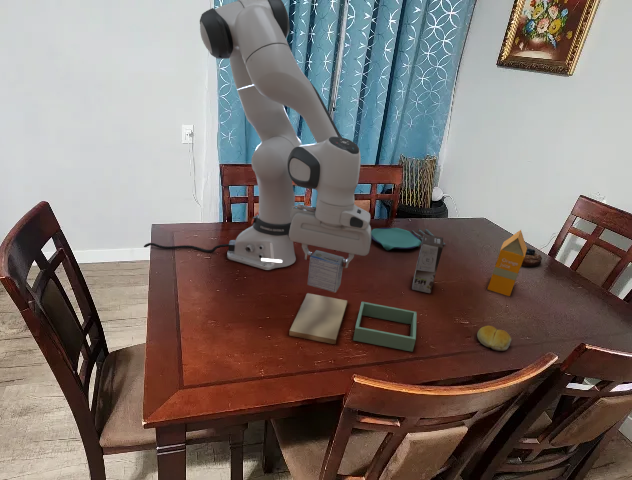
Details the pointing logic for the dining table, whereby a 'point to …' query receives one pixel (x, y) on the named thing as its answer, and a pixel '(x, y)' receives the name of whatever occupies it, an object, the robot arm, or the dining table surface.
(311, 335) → the board
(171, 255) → the dining table surface
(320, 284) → the medicine box
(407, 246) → the teal flat piece
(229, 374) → the dining table surface
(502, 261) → the orange juice
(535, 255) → the pastry
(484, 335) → the bread roll
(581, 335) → the dining table surface
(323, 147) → the robot arm
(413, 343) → the bin
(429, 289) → the coffee box
